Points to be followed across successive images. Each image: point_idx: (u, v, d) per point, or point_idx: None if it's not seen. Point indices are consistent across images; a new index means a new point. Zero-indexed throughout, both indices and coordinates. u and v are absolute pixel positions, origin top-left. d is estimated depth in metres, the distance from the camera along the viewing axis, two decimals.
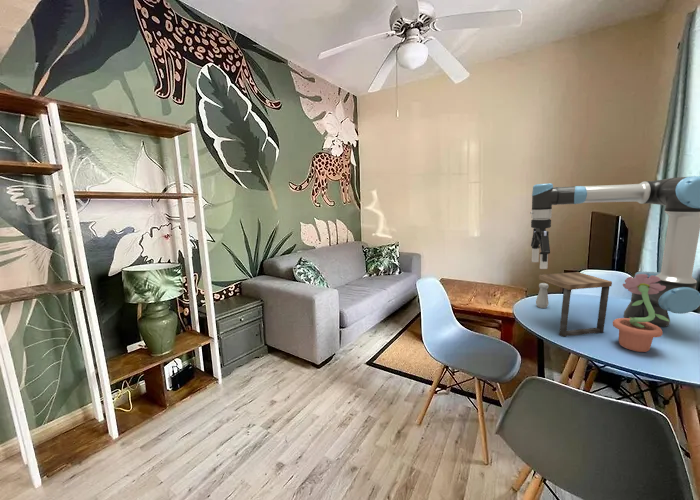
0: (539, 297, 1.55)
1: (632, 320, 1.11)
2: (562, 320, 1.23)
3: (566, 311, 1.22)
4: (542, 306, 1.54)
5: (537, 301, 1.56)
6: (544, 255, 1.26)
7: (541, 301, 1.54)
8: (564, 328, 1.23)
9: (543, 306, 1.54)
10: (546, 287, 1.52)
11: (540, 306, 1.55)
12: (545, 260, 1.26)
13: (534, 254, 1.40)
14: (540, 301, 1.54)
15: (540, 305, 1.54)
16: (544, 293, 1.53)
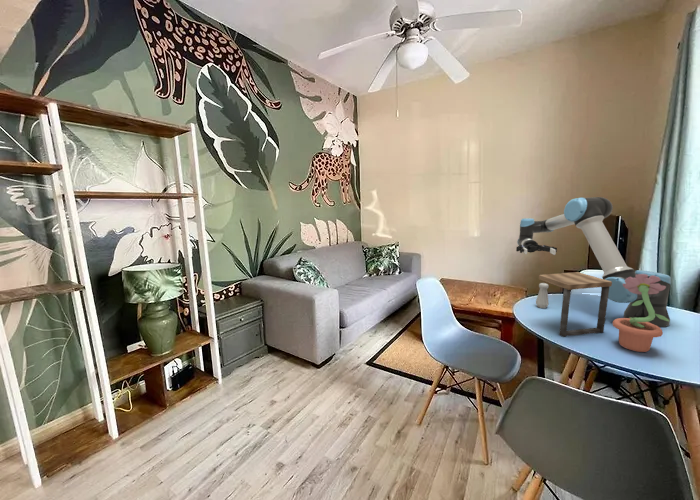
0: (539, 297, 1.55)
1: (632, 320, 1.11)
2: (562, 320, 1.23)
3: (566, 311, 1.22)
4: (542, 306, 1.54)
5: (537, 301, 1.56)
6: (520, 250, 1.68)
7: (541, 301, 1.54)
8: (564, 328, 1.23)
9: (543, 306, 1.54)
10: (546, 287, 1.52)
11: (540, 306, 1.55)
12: (521, 250, 1.66)
13: (551, 252, 1.62)
14: (540, 301, 1.54)
15: (540, 305, 1.54)
16: (544, 293, 1.53)
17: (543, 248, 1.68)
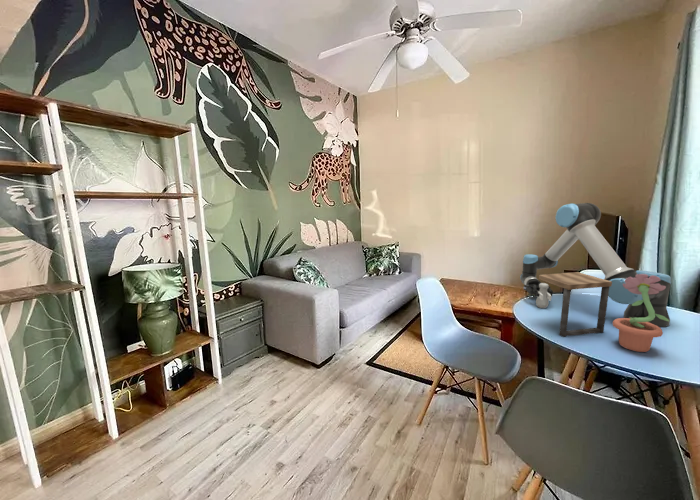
0: None
1: (632, 320, 1.11)
2: (562, 320, 1.23)
3: (566, 311, 1.22)
4: (542, 306, 1.54)
5: (537, 301, 1.56)
6: (535, 294, 1.57)
7: (541, 301, 1.54)
8: (564, 328, 1.23)
9: (543, 306, 1.54)
10: (546, 287, 1.52)
11: (540, 306, 1.55)
12: (536, 294, 1.55)
13: None
14: (540, 301, 1.54)
15: (540, 305, 1.54)
16: (544, 293, 1.53)
17: None
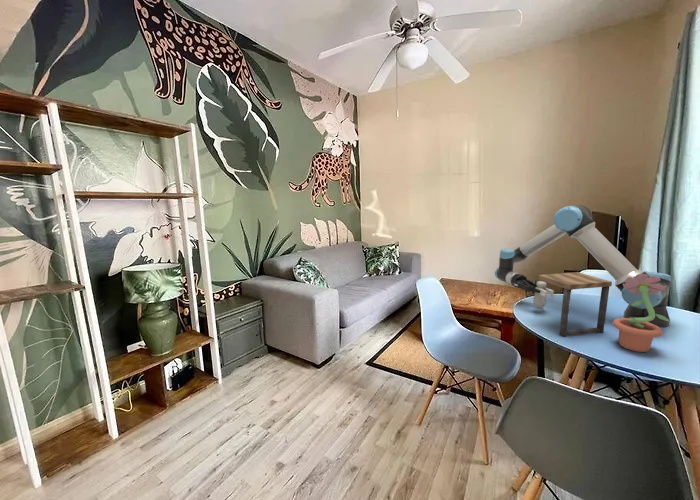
0: (539, 296, 1.46)
1: (632, 320, 1.11)
2: (562, 320, 1.23)
3: (566, 311, 1.22)
4: (542, 306, 1.47)
5: (536, 301, 1.47)
6: (533, 290, 1.48)
7: (541, 300, 1.46)
8: (564, 328, 1.23)
9: (543, 305, 1.47)
10: (545, 285, 1.45)
11: (540, 306, 1.47)
12: (537, 291, 1.45)
13: None
14: (540, 301, 1.46)
15: (540, 305, 1.47)
16: None
17: (534, 285, 1.54)
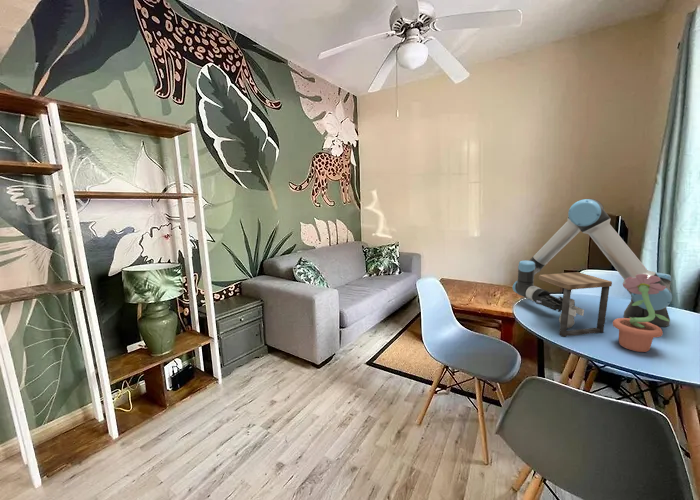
0: None
1: (632, 320, 1.11)
2: (562, 320, 1.23)
3: (566, 311, 1.22)
4: (570, 325, 1.31)
5: None
6: (560, 309, 1.32)
7: (569, 320, 1.31)
8: (564, 328, 1.23)
9: (571, 325, 1.31)
10: (574, 303, 1.30)
11: (567, 326, 1.32)
12: None
13: None
14: (568, 320, 1.31)
15: (568, 325, 1.31)
16: None
17: (560, 302, 1.38)
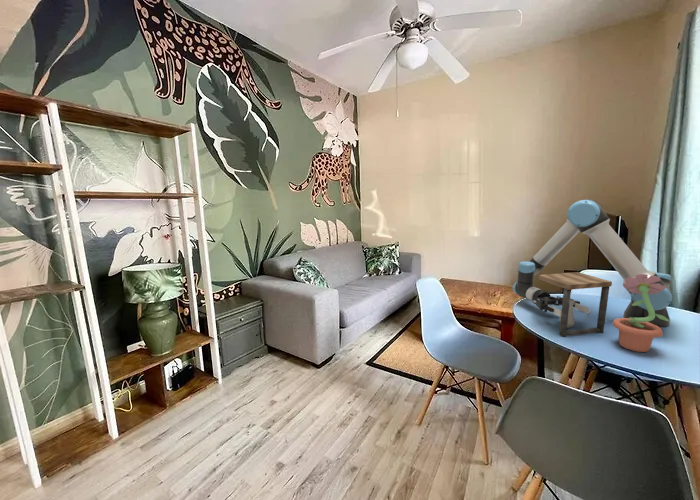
0: None
1: (632, 320, 1.11)
2: (562, 320, 1.23)
3: (566, 311, 1.22)
4: (570, 325, 1.31)
5: None
6: (546, 309, 1.34)
7: (569, 320, 1.31)
8: (564, 328, 1.23)
9: (571, 325, 1.31)
10: (574, 303, 1.30)
11: (567, 326, 1.32)
12: (550, 310, 1.32)
13: (579, 309, 1.34)
14: (568, 320, 1.31)
15: (568, 325, 1.31)
16: (571, 310, 1.31)
17: None
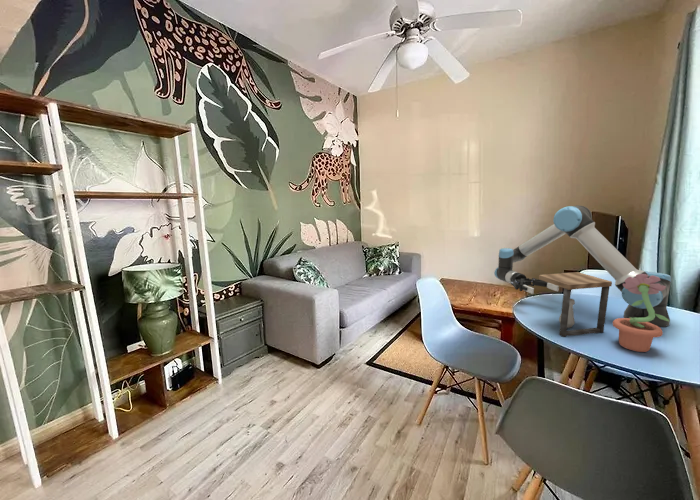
0: None
1: (632, 320, 1.11)
2: (562, 320, 1.23)
3: (566, 311, 1.22)
4: (570, 325, 1.31)
5: None
6: (521, 288, 1.49)
7: (569, 320, 1.31)
8: (564, 328, 1.23)
9: (571, 325, 1.31)
10: (574, 303, 1.30)
11: (567, 326, 1.32)
12: (524, 288, 1.47)
13: (551, 287, 1.49)
14: (568, 320, 1.31)
15: (568, 325, 1.31)
16: (571, 310, 1.31)
17: (537, 283, 1.55)
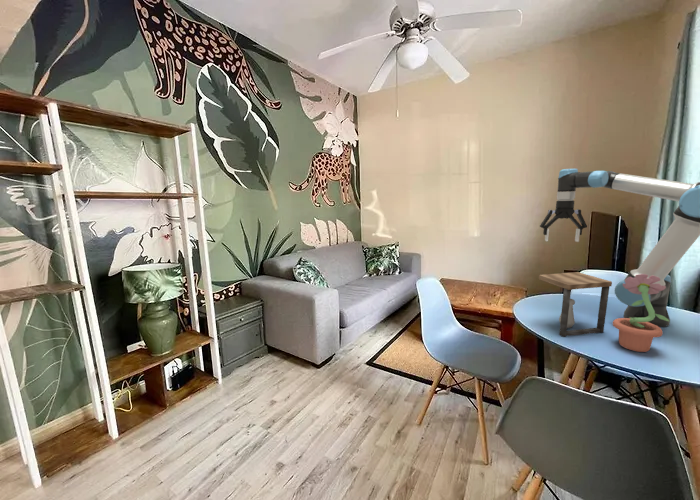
0: None
1: (632, 320, 1.11)
2: (562, 320, 1.23)
3: (566, 311, 1.22)
4: (570, 325, 1.31)
5: None
6: None
7: (569, 320, 1.31)
8: (564, 328, 1.23)
9: (571, 325, 1.31)
10: (574, 303, 1.30)
11: (567, 326, 1.32)
12: (543, 233, 1.55)
13: (576, 233, 1.51)
14: (568, 320, 1.31)
15: (568, 325, 1.31)
16: (571, 310, 1.31)
17: (573, 221, 1.50)
